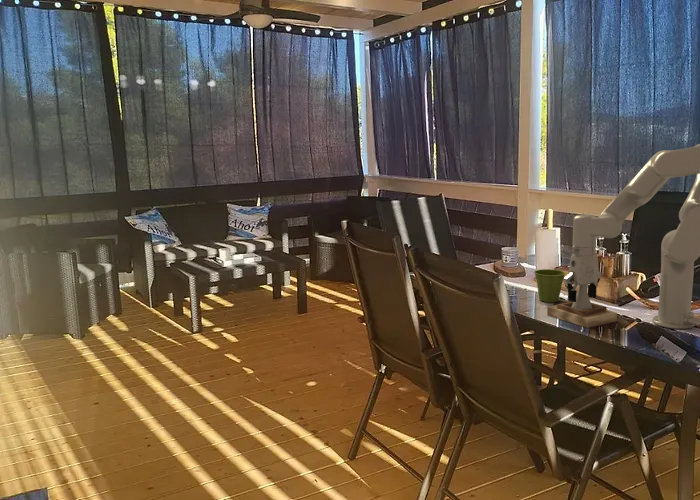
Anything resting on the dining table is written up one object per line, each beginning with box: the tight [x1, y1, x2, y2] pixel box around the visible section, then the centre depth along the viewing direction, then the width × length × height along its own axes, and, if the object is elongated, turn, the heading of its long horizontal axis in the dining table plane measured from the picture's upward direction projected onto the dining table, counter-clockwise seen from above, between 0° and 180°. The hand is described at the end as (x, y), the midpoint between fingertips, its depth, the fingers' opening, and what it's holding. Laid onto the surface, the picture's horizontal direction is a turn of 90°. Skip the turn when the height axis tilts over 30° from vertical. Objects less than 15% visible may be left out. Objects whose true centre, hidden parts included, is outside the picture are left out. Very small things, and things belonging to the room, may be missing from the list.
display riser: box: [546, 301, 618, 329], centre depth 214 cm, size 18×14×4 cm
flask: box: [572, 284, 592, 310], centre depth 213 cm, size 7×7×10 cm
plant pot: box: [533, 268, 567, 303], centre depth 237 cm, size 12×12×11 cm
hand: (582, 299), depth 213 cm, fingers open, 9 cm apart
